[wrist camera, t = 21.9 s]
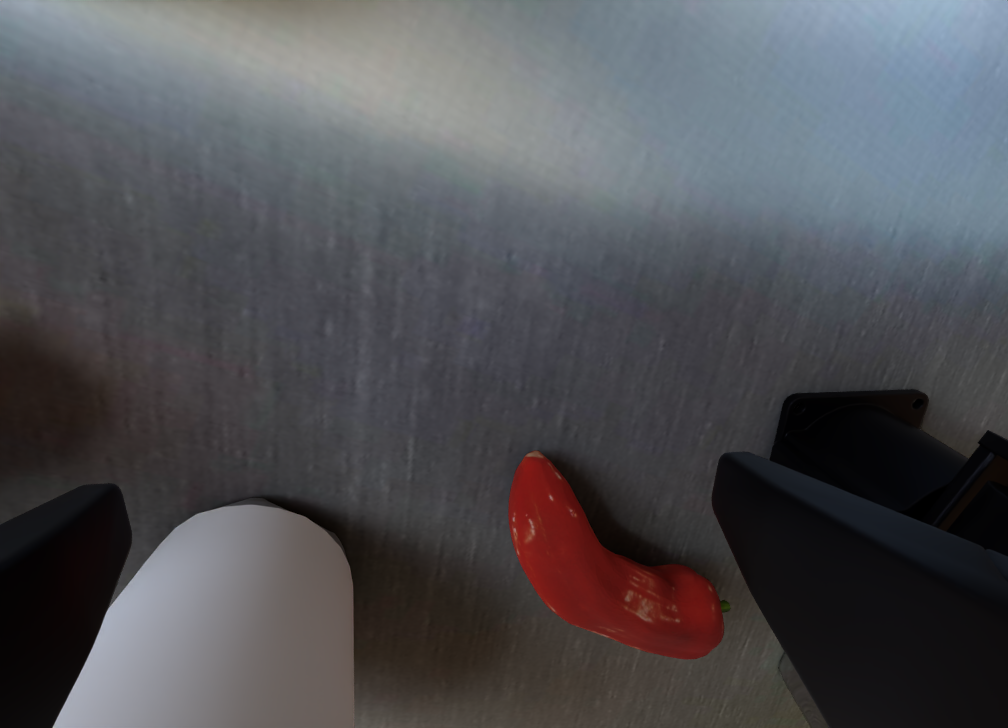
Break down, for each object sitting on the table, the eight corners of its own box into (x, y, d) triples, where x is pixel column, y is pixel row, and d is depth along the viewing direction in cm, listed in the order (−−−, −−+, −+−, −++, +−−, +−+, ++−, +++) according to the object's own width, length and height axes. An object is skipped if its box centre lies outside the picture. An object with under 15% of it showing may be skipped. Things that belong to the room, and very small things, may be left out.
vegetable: (781, 587, 24) (544, 449, 22) (729, 712, 23) (474, 584, 21) (712, 558, 29) (507, 439, 26) (665, 662, 28) (447, 551, 25)
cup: (389, 470, 24) (365, 813, 12) (375, 656, 27) (346, 1061, 15) (114, 459, 22) (-233, 852, 10) (137, 660, 25) (-99, 1122, 14)
